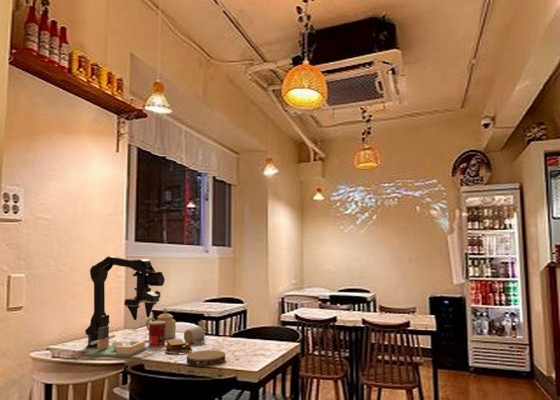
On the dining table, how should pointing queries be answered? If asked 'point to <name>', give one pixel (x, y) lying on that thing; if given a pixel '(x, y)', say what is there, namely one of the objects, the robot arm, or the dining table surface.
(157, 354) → the dining table surface
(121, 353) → the pitch
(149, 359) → the dining table surface
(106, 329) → the kicker rod
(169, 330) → the cream teapot
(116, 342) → the ball
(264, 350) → the dining table surface
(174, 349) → the toy sandwich meal
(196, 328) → the ceramic mug
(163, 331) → the canned food
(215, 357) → the brown round disc
